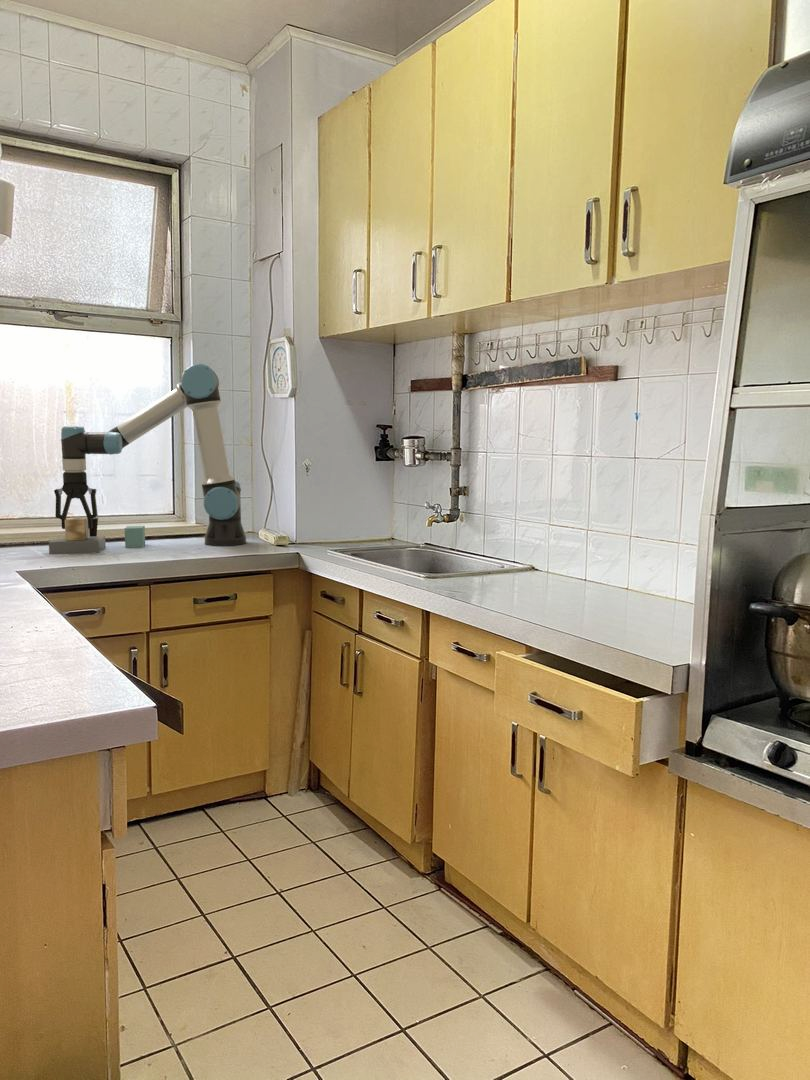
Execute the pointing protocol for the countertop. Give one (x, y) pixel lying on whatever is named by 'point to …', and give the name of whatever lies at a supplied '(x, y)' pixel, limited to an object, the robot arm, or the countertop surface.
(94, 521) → the coffee mug
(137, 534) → the teal brick
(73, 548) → the slate plinth
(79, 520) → the oak brick
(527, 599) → the countertop surface
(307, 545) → the countertop surface
